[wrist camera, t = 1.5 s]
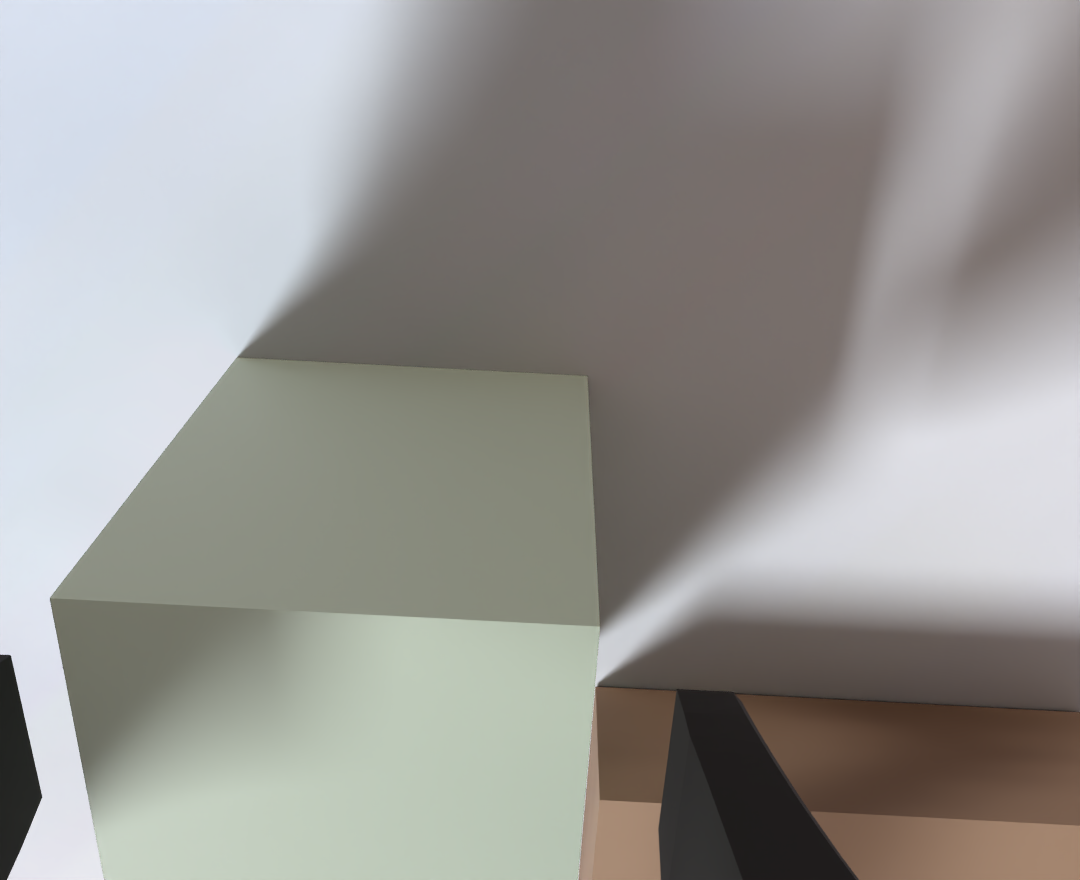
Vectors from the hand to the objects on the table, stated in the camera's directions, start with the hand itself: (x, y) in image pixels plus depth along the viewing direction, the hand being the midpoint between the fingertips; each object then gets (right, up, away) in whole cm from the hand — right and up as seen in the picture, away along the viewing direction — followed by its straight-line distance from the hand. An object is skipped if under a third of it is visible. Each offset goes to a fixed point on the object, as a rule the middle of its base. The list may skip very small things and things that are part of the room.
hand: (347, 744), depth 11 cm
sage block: (0, +2, +5) cm, 5 cm away
